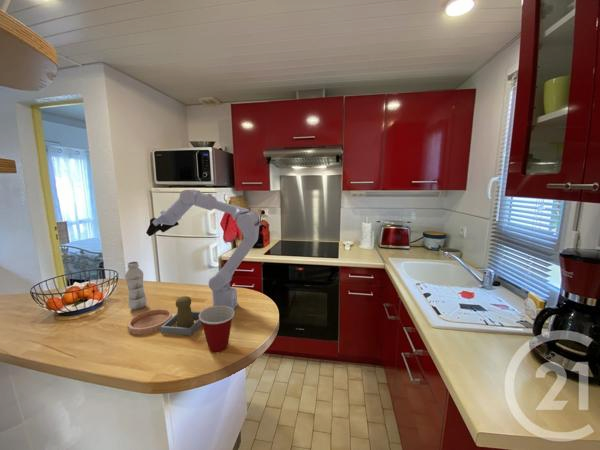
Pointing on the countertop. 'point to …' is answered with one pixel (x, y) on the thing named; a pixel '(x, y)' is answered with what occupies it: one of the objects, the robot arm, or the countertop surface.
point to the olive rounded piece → (184, 312)
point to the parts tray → (179, 330)
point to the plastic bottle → (135, 286)
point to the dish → (149, 321)
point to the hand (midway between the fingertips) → (155, 232)
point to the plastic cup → (217, 326)
